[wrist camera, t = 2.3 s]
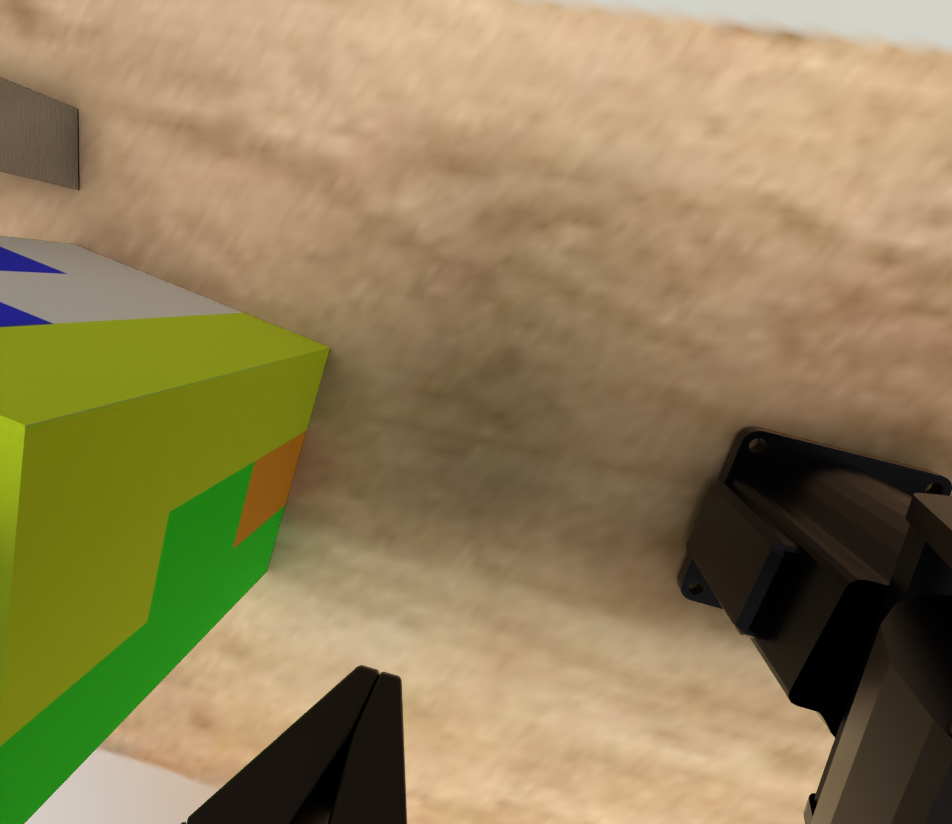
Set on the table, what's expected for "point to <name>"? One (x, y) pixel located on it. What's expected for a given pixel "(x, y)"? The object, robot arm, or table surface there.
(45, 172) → the grey rail base
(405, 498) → the table surface
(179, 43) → the table surface
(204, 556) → the puzzle toy
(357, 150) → the table surface
